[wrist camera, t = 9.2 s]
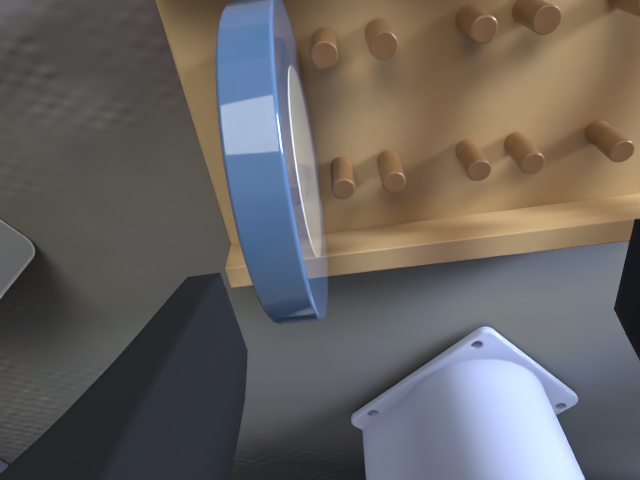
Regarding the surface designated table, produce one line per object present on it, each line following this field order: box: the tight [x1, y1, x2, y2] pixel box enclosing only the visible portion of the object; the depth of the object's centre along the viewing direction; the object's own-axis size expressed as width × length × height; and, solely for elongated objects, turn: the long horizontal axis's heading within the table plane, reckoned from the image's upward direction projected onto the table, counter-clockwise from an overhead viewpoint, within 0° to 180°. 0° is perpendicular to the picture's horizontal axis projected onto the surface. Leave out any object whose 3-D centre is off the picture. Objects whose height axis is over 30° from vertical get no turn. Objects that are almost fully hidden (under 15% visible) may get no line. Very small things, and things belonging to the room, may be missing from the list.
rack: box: [155, 0, 640, 288], centre depth 16 cm, size 16×12×3 cm
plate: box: [215, 0, 328, 325], centre depth 14 cm, size 1×8×8 cm, turn 9°
